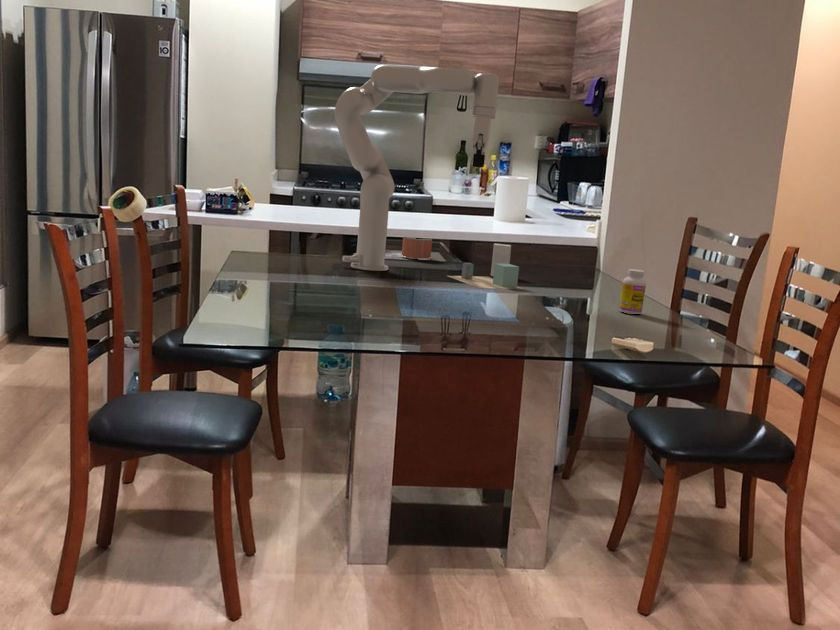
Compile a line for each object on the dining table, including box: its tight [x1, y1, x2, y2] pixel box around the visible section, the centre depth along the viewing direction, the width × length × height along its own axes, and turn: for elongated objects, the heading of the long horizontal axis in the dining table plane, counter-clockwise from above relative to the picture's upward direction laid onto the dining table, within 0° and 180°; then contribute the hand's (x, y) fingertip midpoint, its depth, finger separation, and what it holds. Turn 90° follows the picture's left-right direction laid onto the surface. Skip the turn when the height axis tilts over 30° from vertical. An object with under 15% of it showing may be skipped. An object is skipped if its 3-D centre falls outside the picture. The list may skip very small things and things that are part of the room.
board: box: [447, 275, 524, 290], centre depth 284 cm, size 16×22×1 cm
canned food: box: [401, 238, 433, 258], centre depth 335 cm, size 11×11×12 cm
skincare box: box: [490, 243, 512, 277], centre depth 301 cm, size 6×4×12 cm
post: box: [460, 262, 475, 279], centre depth 287 cm, size 3×3×5 cm
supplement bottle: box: [618, 268, 647, 315], centre depth 258 cm, size 7×7×13 cm
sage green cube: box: [492, 263, 520, 287], centre depth 280 cm, size 6×6×7 cm
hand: (478, 166), depth 287 cm, fingers open, 9 cm apart
